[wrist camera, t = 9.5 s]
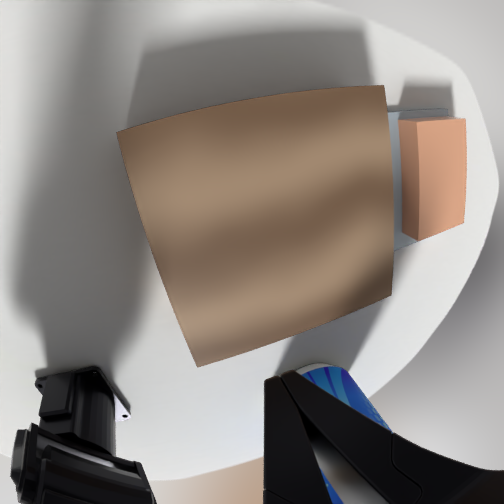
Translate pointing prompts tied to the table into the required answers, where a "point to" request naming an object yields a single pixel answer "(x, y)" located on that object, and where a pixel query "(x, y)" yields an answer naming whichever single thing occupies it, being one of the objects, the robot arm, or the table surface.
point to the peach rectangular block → (432, 174)
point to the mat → (393, 117)
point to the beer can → (340, 398)
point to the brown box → (267, 213)
